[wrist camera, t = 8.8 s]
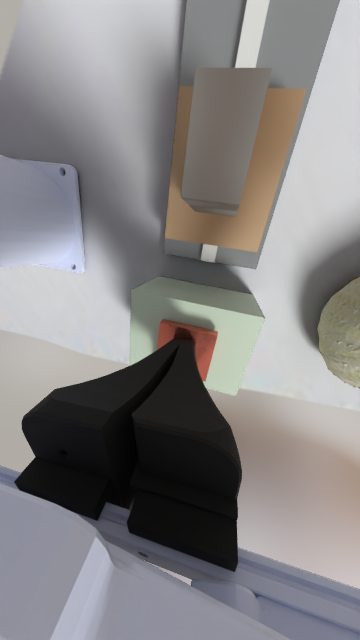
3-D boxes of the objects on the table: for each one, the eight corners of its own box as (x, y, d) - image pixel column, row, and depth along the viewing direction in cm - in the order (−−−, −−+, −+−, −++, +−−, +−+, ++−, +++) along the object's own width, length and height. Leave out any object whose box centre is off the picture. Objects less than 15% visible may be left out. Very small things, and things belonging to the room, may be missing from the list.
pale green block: (153, 335, 18) (129, 366, 14) (158, 276, 16) (131, 289, 11) (233, 355, 17) (235, 396, 12) (252, 294, 14) (265, 318, 10)
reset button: (165, 350, 14) (155, 367, 12) (170, 309, 12) (159, 322, 11) (208, 361, 13) (205, 381, 11) (219, 320, 12) (217, 335, 10)
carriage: (168, 238, 13) (138, 236, 8) (183, 100, 10) (147, -16, 5) (254, 251, 12) (271, 257, 8) (298, 104, 9) (370, -32, 5)
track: (166, 252, 15) (161, 253, 14) (220, -293, 7) (219, -398, 6) (254, 267, 14) (256, 270, 13) (447, -362, 6) (500, -505, 4)
